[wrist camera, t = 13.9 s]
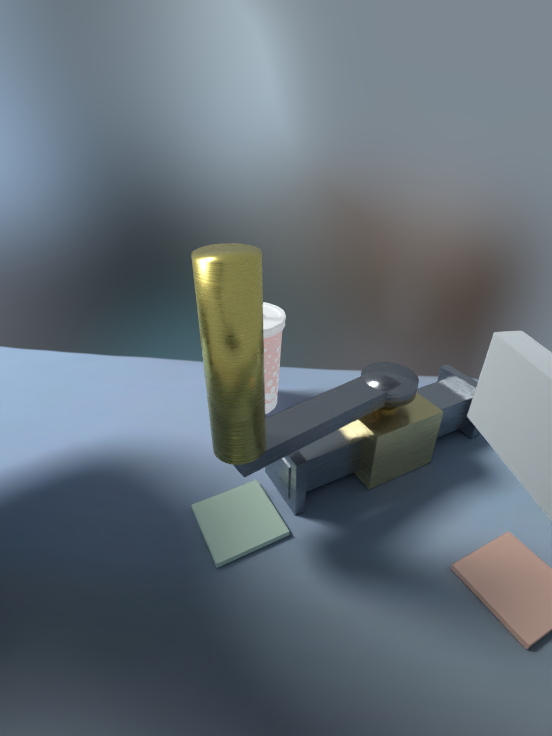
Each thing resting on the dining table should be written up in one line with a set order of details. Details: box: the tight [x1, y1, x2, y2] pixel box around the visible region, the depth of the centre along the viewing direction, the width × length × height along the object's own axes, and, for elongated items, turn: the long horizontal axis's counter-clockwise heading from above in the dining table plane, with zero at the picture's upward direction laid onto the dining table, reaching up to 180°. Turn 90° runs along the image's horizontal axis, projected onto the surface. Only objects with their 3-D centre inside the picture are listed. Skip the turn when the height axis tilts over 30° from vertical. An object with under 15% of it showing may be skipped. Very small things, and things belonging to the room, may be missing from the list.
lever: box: [192, 243, 419, 477], centre depth 24 cm, size 16×4×12 cm, turn 125°
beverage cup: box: [263, 302, 286, 414], centre depth 36 cm, size 6×6×14 cm
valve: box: [265, 365, 479, 515], centre depth 32 cm, size 18×6×6 cm, turn 117°
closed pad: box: [451, 531, 552, 649], centre depth 24 cm, size 5×5×1 cm
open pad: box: [191, 480, 289, 568], centre depth 28 cm, size 5×5×1 cm
